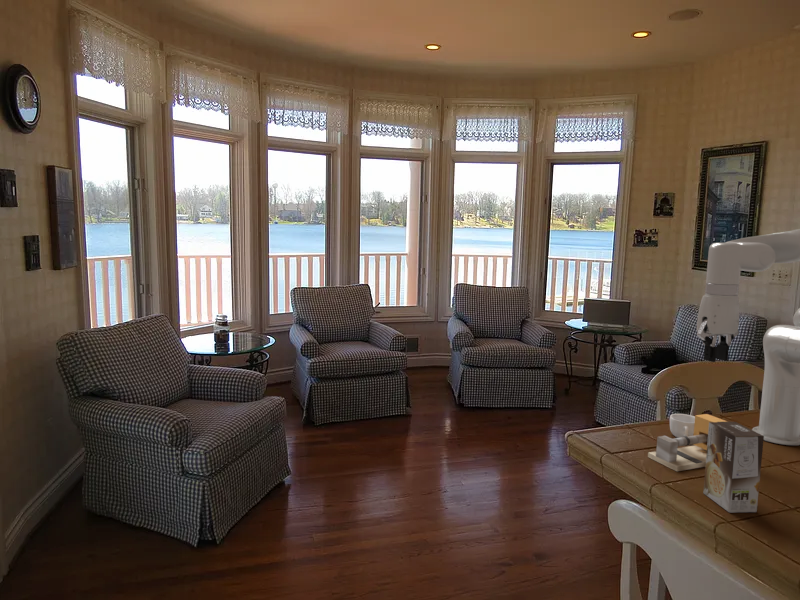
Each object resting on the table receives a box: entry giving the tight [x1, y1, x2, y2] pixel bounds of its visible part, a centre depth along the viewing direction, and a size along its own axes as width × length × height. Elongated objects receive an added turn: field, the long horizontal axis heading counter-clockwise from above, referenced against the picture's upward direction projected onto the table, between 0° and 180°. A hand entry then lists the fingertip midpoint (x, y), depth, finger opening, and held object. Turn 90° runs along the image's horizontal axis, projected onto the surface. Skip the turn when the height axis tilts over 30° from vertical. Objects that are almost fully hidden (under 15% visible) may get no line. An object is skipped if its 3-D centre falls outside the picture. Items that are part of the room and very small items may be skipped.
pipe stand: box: [647, 434, 708, 472], centre depth 142 cm, size 20×9×6 cm, turn 111°
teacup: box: [669, 413, 695, 438], centre depth 157 cm, size 10×8×5 cm
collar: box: [692, 413, 729, 450], centre depth 143 cm, size 4×6×8 cm, turn 21°
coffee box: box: [703, 421, 765, 513], centre depth 119 cm, size 9×6×16 cm
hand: (715, 359), depth 149 cm, fingers open, 3 cm apart
